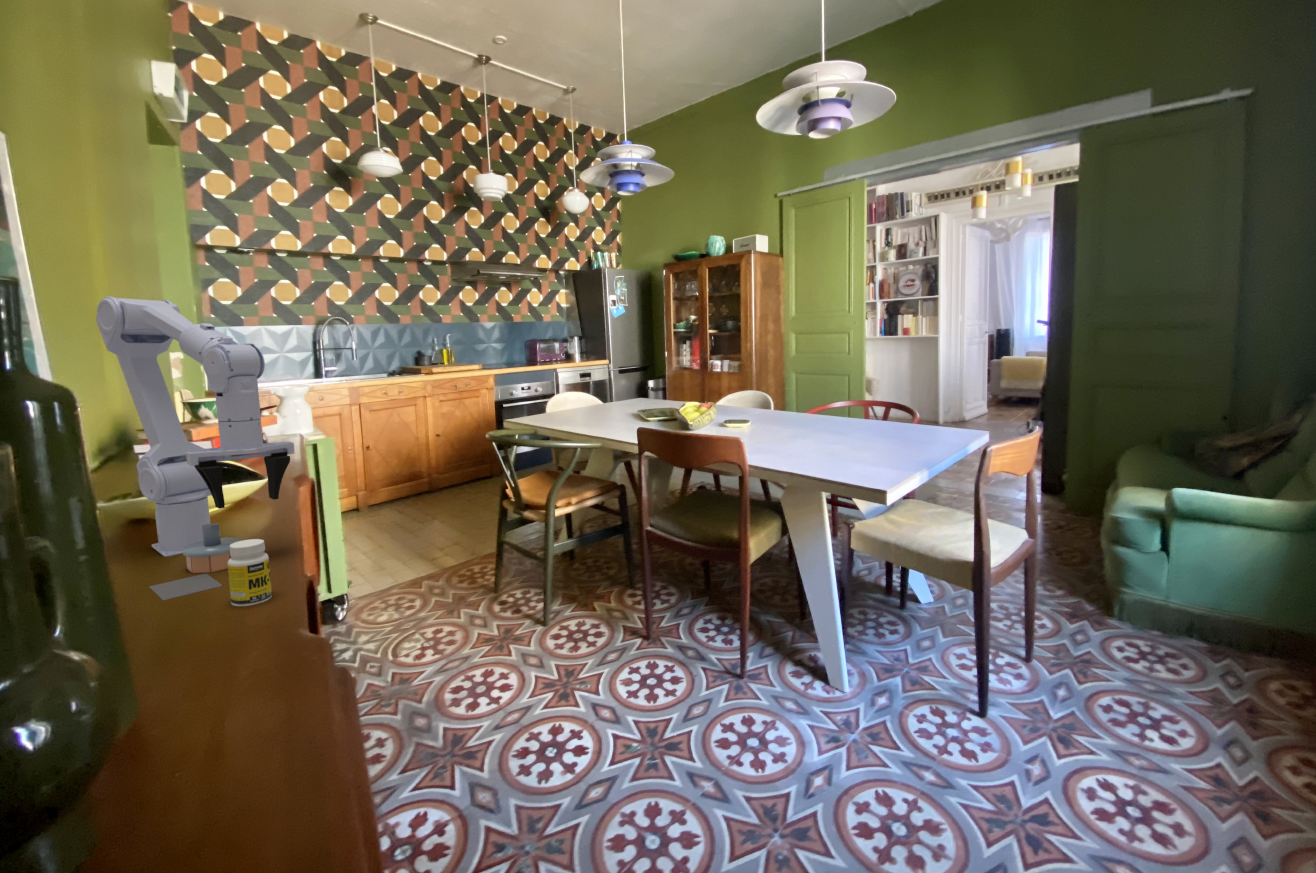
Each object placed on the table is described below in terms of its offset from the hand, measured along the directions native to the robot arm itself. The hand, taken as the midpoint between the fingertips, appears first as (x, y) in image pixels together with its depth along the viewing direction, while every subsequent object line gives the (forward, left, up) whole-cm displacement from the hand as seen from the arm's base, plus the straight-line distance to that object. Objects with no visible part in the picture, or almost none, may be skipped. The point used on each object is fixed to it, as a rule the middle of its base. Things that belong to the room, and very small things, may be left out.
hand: (247, 502), depth 101 cm
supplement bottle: (+19, -6, -10) cm, 22 cm away
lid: (-1, -5, -7) cm, 9 cm away
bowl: (-2, -5, -10) cm, 11 cm away
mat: (+6, -11, -10) cm, 16 cm away
